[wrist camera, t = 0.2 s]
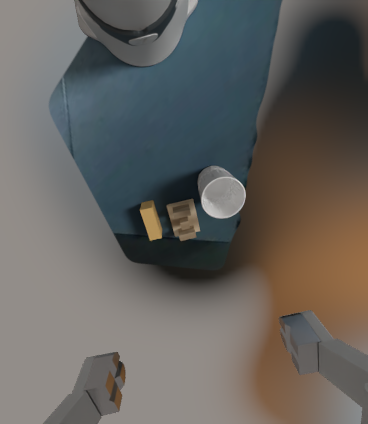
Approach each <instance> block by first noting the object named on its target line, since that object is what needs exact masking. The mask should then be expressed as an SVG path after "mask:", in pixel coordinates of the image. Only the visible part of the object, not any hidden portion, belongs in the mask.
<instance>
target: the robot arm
mask: <svg viewBox="0 0 368 424" xmlns="http://www.w3.org/2000/svg"><path fill="white" fill-rule="evenodd" d="M74 1H75V6H76V12H77V17H78V22H79V26H80V28H81V30H82V31H83V32H84V33H85V34H86V35H87V36H89V37H91V38H93V39H95V40H97V41H100V42H101V43H102V44H104V45H105V46H106V47H107V48H108V49H109V50H110V52H111V53H113V54H114V55H115V56H116V57H117V58H119V59H120V60H122V61H124V62H126V63H128V64H131V65H134V66H142V67H143V66H151V65H155V64H157V63H159V62H161V61H163V60H164V59H165V58H167V57H168V56H169V55H170V54H171V53H172V51H173V50H174V49H175V47H176V46H177V44H178V42H179V40H180V37H181V35H182V31H183V28H184V25H185V22H186V20H187V18H188V17H189V16H190V15H191V13H192V12H193V11H194V9H195V8H196V6H197V3H198V0H74ZM279 323H280V325H281V329H280V333H281V338H282V341H283V343H284V345H285V348H286V350H287V351H288V352H289V353H291V355H292V361H293V363H294V365H295V367H296V369H297V371H298V373H299V374H300V375H302V374H308V373H314V372H319V373H320V374H321V375H323V376H324V377H325V378H326V379H327V380H329V381H330V382H331V383H333V384H334V385H335V386H336V387H337V388H339V389H340V390H341V391H342V392H344V393H345V394H346V395H347V396H349V397H350V398H351V399H352V400H354V401H355V402H356V403H357V404H359V405H360V406H361V407H362V419H361V424H368V355H366V354H364V353H363V352H360V351H359V350H357V349H355V348H353V347H352V346H350V345H348V344H346V343H344V342H343V341H341V340H339V339H333V337H332V336H331V335H330V333H329V332H328V331H327V330H326V329H325V327H324V326H323V324H322V323H321V322H320V321H319V319H318V318H317V317H316V315H315V314H314V313H313V312H312V311H311V310H309V311H304V312H300V313H294V314H290V315H285V316H282V317H279ZM119 358H120V356H119V354H118V352H114V353H108V354H103V355H97V356H93V357H87V358H86V359H85V361H84V363H83V366H82V368H81V371H80V374H79V376H78V379H77V381H76V384H75V386H74V389H73V391H72V394H69V395H68V396H67V397H66V398H65V399H64V400H63V401H62V403H61V404H60V405H59V406H58V407H57V408H56V409H55V411H54V412H53V413H52V414H51V415H50V416H49V417H48V419H47V420H46V421H45V422H44V423H43V424H97V423H98V422H99V420H100V419H101V416H103V415H107V414H112V413H116V412H119V410H120V404H121V399H122V394H121V392H120V390H121V389H122V387H123V386H124V383H125V367H124V364H123V363H122V362H121V361H119Z"/></svg>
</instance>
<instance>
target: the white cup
mask: <svg viewBox="0 0 368 424" xmlns="http://www.w3.org/2000/svg"><path fill="white" fill-rule="evenodd" d="M197 183H198V190H199V195H200V199H201V203H202V207H203V209H204V210H205V212H206V213H207V214H209V215H210V216H212V217H215V218H227V217H230V216H233V215H234V214H236V213H237V212H238V211H239V210H240V209H241V208H242V206H243V204H244V202H245V197H246V193H245V189H244V187H243V185H242V184H241V183H240V182H239V181H238V180H237V179H236V178H235V177H234V176H232V175H231V174H230V173H229V172H227V171H226V170H224V169H223V168H221V167H219V166H209V167H207V168H205V169H203V171H202V172H201V173H200V174H199V177H198V181H197Z"/></svg>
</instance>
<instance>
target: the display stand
mask: <svg viewBox="0 0 368 424" xmlns="http://www.w3.org/2000/svg"><path fill="white" fill-rule="evenodd" d="M167 209H168V213H169V216H170V220H171V223H172V227H173V231H174V234H175V237H176V236H179V237H180V241H182V240H186V239H191V238H195V237H196V234H195V232H198V231H200V228H199V223H198V219H197V214H196V210H195V205H194V201H193V199H189V200H185V201H181V202H176V203H172V204H168V205H167Z"/></svg>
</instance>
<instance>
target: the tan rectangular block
mask: <svg viewBox="0 0 368 424" xmlns="http://www.w3.org/2000/svg"><path fill="white" fill-rule="evenodd" d="M140 212H141V215H142V218H143V221H144V224H145V227H146V230H147V233H148V235H149V238H150V241H151V240H155V239H159V238H162V227H161V224H160V221H159V218H158V214H157V211H156V208H155V205H154V202H153V200H151V201H147V202H143V203H141V207H140Z"/></svg>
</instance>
